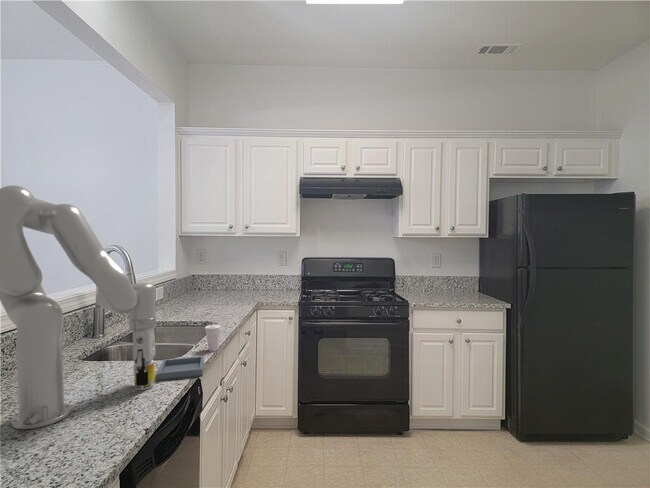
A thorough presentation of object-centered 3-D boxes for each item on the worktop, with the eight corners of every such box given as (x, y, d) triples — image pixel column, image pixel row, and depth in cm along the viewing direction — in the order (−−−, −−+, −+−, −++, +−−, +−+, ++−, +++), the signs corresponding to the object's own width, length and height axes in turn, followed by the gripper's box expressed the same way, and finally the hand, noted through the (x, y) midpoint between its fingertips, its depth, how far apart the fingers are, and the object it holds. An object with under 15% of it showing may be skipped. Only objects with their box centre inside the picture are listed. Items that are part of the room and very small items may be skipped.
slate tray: (202, 376, 128) (202, 369, 128) (157, 381, 124) (156, 373, 124) (204, 362, 141) (204, 356, 141) (163, 366, 138) (163, 359, 138)
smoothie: (209, 353, 152) (208, 318, 152) (202, 349, 157) (202, 315, 156) (224, 350, 156) (223, 316, 156) (217, 346, 161) (216, 313, 161)
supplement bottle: (156, 383, 122) (156, 351, 122) (150, 390, 117) (149, 357, 117) (138, 384, 122) (137, 352, 122) (131, 391, 116) (130, 357, 116)
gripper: (151, 329, 112) (152, 390, 112) (160, 316, 128) (161, 370, 129) (122, 331, 110) (124, 393, 110) (135, 318, 126) (137, 372, 127)
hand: (144, 380), depth 119 cm, fingers closed on supplement bottle, 5 cm apart
